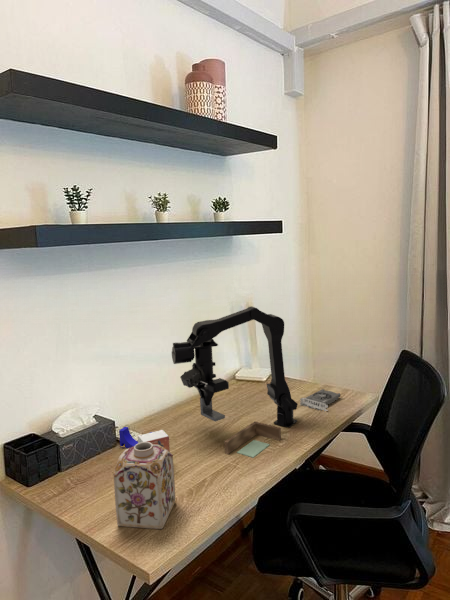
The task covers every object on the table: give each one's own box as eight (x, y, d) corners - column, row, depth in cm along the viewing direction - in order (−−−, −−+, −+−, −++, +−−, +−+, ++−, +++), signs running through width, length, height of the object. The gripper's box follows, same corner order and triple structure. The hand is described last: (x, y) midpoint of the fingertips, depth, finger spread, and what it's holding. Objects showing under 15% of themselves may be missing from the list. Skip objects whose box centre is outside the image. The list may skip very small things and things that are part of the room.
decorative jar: (176, 501, 118) (173, 436, 116) (163, 530, 107) (159, 458, 104) (132, 499, 120) (128, 434, 118) (115, 527, 109) (109, 456, 106)
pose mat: (254, 440, 151) (254, 439, 151) (269, 445, 148) (269, 444, 148) (236, 452, 143) (236, 452, 143) (253, 457, 140) (253, 456, 140)
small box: (145, 477, 131) (142, 442, 130) (139, 468, 136) (136, 435, 135) (171, 469, 135) (169, 435, 133) (164, 461, 140) (162, 428, 138)
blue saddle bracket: (158, 448, 149) (157, 430, 148) (150, 454, 145) (149, 436, 144) (128, 441, 155) (127, 424, 154) (120, 447, 151) (119, 430, 150)
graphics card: (326, 405, 172) (299, 397, 180) (326, 414, 172) (299, 406, 180) (347, 393, 184) (321, 386, 192) (347, 402, 185) (321, 395, 193)
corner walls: (255, 432, 158) (254, 421, 157) (280, 439, 152) (280, 427, 151) (224, 453, 143) (224, 441, 143) (252, 461, 138) (251, 449, 137)
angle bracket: (200, 414, 154) (199, 397, 153) (210, 411, 156) (209, 394, 155) (215, 421, 148) (214, 403, 147) (224, 418, 150) (224, 400, 149)
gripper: (168, 359, 154) (171, 403, 157) (200, 371, 140) (203, 419, 142) (195, 353, 161) (197, 395, 163) (228, 363, 147) (230, 409, 149)
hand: (206, 404), depth 154 cm, fingers closed on angle bracket
